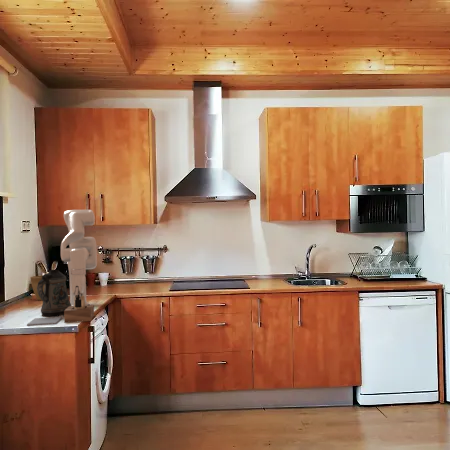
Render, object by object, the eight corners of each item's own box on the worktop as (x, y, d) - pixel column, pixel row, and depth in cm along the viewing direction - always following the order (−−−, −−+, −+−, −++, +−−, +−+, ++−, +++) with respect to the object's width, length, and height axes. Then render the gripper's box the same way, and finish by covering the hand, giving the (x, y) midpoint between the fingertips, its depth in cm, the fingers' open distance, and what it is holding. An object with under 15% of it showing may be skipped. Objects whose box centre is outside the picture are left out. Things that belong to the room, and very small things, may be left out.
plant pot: (59, 297, 308) (58, 274, 308) (45, 301, 294) (44, 277, 294) (41, 297, 312) (40, 274, 312) (26, 301, 298) (25, 277, 298)
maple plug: (75, 318, 237) (74, 295, 237) (85, 317, 238) (85, 295, 238) (73, 320, 232) (72, 297, 232) (84, 319, 233) (83, 297, 233)
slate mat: (34, 319, 237) (34, 318, 237) (62, 318, 239) (62, 316, 239) (27, 325, 223) (27, 324, 223) (56, 324, 225) (56, 322, 225)
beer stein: (75, 310, 260) (74, 267, 259) (64, 317, 240) (63, 271, 240) (47, 311, 259) (45, 268, 259) (34, 318, 240) (32, 272, 240)
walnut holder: (69, 317, 241) (69, 306, 241) (94, 315, 243) (93, 304, 243) (64, 322, 228) (64, 310, 228) (90, 320, 230) (90, 309, 230)
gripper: (74, 270, 243) (75, 303, 243) (67, 274, 226) (68, 309, 226) (88, 270, 244) (89, 303, 244) (82, 273, 227) (84, 308, 227)
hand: (79, 305), depth 235 cm, fingers closed on maple plug, 5 cm apart
